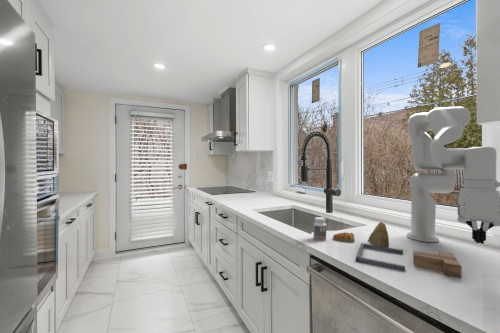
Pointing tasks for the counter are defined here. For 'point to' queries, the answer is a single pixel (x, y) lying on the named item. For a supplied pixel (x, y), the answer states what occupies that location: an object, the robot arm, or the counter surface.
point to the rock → (379, 236)
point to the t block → (438, 262)
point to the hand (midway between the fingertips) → (478, 242)
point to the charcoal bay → (377, 262)
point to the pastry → (344, 237)
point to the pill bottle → (320, 229)
